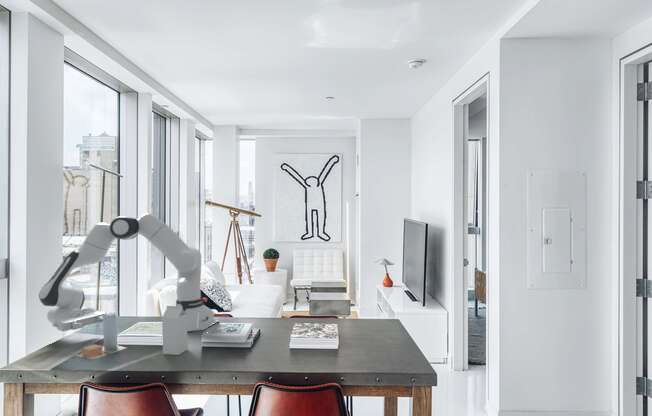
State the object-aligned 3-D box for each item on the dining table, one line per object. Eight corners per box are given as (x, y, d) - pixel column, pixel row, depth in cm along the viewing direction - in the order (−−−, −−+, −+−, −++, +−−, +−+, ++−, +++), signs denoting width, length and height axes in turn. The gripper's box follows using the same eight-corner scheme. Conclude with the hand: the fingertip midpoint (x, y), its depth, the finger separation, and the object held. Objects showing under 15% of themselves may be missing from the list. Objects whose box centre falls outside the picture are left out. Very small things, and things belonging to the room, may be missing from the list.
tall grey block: (112, 345, 191) (111, 312, 190) (120, 347, 188) (118, 314, 188) (101, 349, 186) (100, 315, 186) (108, 351, 184) (107, 317, 184)
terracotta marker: (94, 351, 184) (94, 344, 184) (102, 353, 181) (102, 346, 181) (82, 355, 179) (82, 347, 179) (90, 357, 177) (90, 349, 177)
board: (111, 346, 194) (111, 343, 194) (127, 350, 188) (127, 347, 188) (74, 357, 180) (74, 355, 180) (91, 362, 174) (91, 359, 174)
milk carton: (178, 355, 181) (177, 308, 181) (162, 354, 182) (161, 307, 182) (187, 349, 188) (186, 304, 187) (172, 348, 189) (171, 303, 189)
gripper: (49, 317, 191) (68, 321, 184) (95, 307, 209) (114, 310, 202) (50, 332, 191) (69, 337, 184) (95, 320, 209) (114, 324, 202)
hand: (92, 323), depth 193 cm, fingers open, 8 cm apart
